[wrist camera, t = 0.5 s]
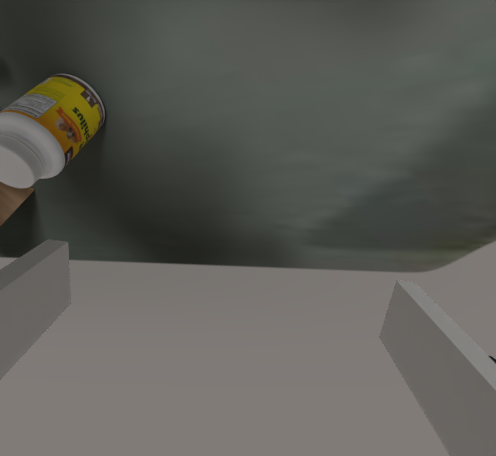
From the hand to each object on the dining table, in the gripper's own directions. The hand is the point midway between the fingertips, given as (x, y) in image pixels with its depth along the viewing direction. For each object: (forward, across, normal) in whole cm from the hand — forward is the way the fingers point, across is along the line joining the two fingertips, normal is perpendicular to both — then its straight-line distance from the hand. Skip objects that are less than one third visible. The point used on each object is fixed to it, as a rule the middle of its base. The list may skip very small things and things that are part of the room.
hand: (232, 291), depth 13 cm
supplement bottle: (+21, -16, +6) cm, 27 cm away
